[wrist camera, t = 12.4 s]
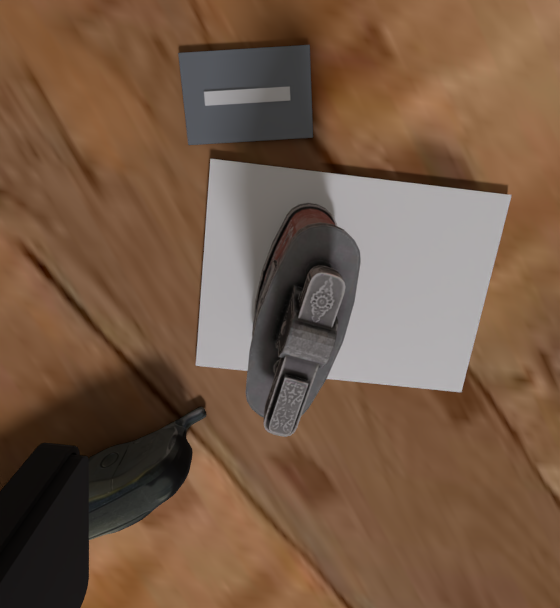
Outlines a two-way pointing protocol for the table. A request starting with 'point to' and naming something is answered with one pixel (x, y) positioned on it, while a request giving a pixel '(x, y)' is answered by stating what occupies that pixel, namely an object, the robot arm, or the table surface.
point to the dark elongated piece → (138, 476)
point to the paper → (372, 275)
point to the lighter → (300, 315)
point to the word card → (247, 94)
